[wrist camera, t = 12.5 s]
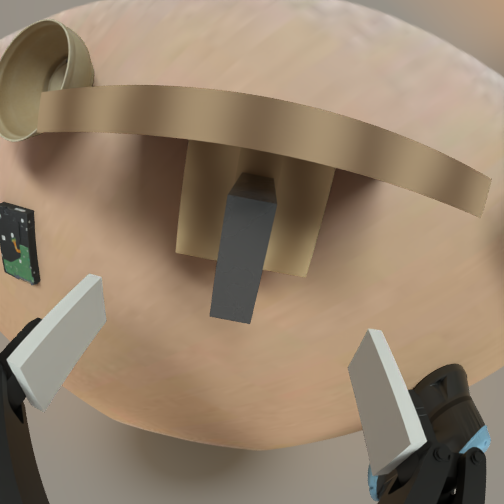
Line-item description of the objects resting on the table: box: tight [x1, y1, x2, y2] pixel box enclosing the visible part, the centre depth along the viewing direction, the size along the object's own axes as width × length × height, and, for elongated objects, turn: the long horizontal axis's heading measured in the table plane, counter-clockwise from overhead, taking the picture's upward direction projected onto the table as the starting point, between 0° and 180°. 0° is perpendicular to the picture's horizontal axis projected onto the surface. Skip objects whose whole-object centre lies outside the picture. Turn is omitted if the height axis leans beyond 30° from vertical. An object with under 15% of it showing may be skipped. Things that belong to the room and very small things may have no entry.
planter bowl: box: [0, 19, 94, 142], centre depth 25 cm, size 16×16×11 cm
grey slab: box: [210, 172, 277, 324], centre depth 26 cm, size 3×9×16 cm, turn 170°
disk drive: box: [0, 202, 40, 285], centre depth 40 cm, size 10×3×15 cm
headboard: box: [37, 85, 492, 278], centre depth 26 cm, size 32×16×20 cm, turn 80°
